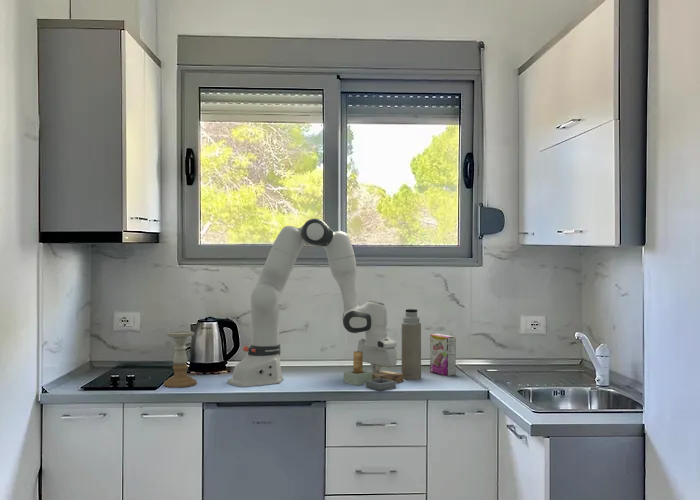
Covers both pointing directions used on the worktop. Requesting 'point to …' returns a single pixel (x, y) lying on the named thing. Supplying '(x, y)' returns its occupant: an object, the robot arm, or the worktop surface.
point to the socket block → (357, 377)
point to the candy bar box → (443, 354)
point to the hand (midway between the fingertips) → (375, 375)
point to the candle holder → (180, 361)
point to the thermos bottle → (411, 345)
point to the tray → (381, 384)
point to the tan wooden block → (380, 374)
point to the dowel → (357, 362)
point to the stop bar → (394, 377)
